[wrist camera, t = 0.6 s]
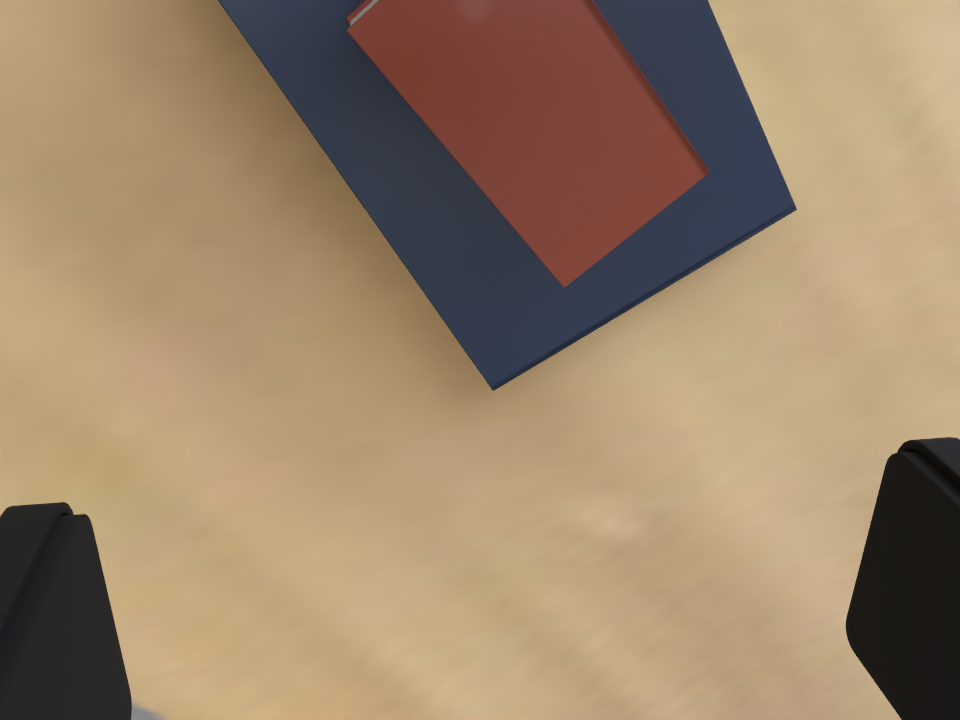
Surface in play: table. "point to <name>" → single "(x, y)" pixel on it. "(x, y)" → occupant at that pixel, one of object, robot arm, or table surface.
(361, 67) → the hardcover book
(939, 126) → the table surface
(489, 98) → the pocket book
